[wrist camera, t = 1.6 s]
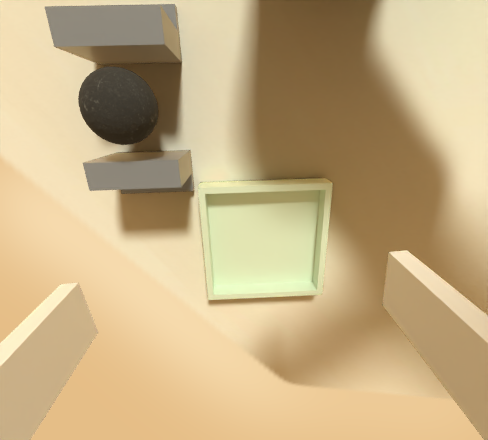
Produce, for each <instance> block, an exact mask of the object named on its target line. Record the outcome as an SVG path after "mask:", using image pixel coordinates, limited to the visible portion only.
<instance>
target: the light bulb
mask: <svg viewBox="0 0 488 440" xmlns="http://www.w3.org/2000/svg"><path fill="white" fill-rule="evenodd" d="M78 99H79V107H80V111H81V114H82V116H83V119H84V120H85V122H86V124H87V125H88V126H89V127H90V129H91V130H92V131H93V132H94V133H96V134H97V135H98V136H99V137H101V138H103V139H105V140H107V141H109V142H112V143H115V144H121V145H127V144H134V143H137V142H140V141H142V140H143V139H145V138H146V137H147V136H148V135H150V133H151V132H152V131H153V129H154V127H155V125H156V123H157V119H158V105H157V101H156V98H155V96H154V93H153V91H152V90H151V88H150V87H149V86H148V84H147V83H146V82H145V81H144V80H143V79H142V78H141V77H140V76H138V75H137V74H135V73H133V72H132V71H129V70H127V69H124V68H119V67H104V68H100V69H98V70H96V71H94V72H92V73H91V74H90V75H89V76H87V77H86V79H85V80H84V82H83V83H82V85H81V88H80V91H79V98H78Z"/></svg>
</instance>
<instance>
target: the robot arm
mask: <svg viewBox="0 0 488 440" xmlns="http://www.w3.org/2000/svg"><path fill="white" fill-rule="evenodd" d="M382 305H383V307H384V308H385V309H386V311H387V312H388V313H389V315H390V316H391V317H392V319H393V320H394V321H395V323H396V324H397V325H398V327H399V328H400V329H401V330H402V332H403V333H404V334H405V336H406V337H407V338H408V340H409V341H410V342H411V344H412V345H413V346H414V348H415V349H416V350H417V352H418V353H419V354H420V356H421V357H422V358H423V360H424V361H425V362H426V364H427V365H428V366H429V368H430V369H431V370H432V371H433V373H434V374H435V375H436V377H437V378H438V379H439V381H440V382H441V383H442V385H443V386H444V387H445V389H446V390H447V391H448V393H449V394H450V395H451V397H452V398H453V399H454V401H455V402H456V403H457V405H458V406H459V407H460V409H461V410H462V411H463V412H464V414H465V415H466V416H467V418H468V419H469V420H470V422H471V423H472V424H473V426H474V427H475V428H476V430H477V431H478V432H479V434H480V435H481V436H482V438H483V439H484V440H488V315H487V314H485V313H484V312H483V311H482V310H480V309H479V308H478V307H477V306H475V305H474V304H473V303H472V302H470V301H469V300H468V299H467V298H466V297H464V296H463V295H462V294H461V293H459V292H458V291H457V290H456V289H454V288H453V287H452V286H451V285H449V284H448V283H447V282H446V281H444V280H443V279H442V278H441V277H440V276H438V275H437V274H436V273H435V272H433V271H432V270H431V269H430V268H428V267H427V266H426V265H425V264H423V263H422V262H421V261H420V260H418V259H417V258H416V257H415V256H414V255H412V254H411V253H410V252H409V251H407V250H405V251H395V252H389V253H388V262H387V270H386V278H385V287H384V295H383V304H382ZM97 334H98V331H97V328H96V326H95V323H94V321H93V318H92V315H91V313H90V310H89V308H88V305H87V303H86V300H85V298H84V295H83V293H82V290H81V288H80V285H79V283H71V284H61V285H60V286H59V287H58V288H57V289H56V290H55V291H54V292H53V293H51V295H50V296H48V298H46V299H45V300H44V301H43V302H42V303H41V304H40V305H39V306H38V307H37V308H36V309H35V310H34V311H33V312H32V313H31V314H30V315H29V316H28V317H27V318H26V319H25V320H24V321H23V322H22V323H21V324H20V325H19V326H18V327H17V328H16V329H15V330H14V331H12V333H10V334H9V335H8V336H7V337H6V338H5V339H4V340H3V341H2V342H1V343H0V440H30V439H31V438H32V436H33V435H34V433H35V432H36V430H37V429H38V427H39V425H40V423H41V422H42V421H43V419H44V417H45V416H46V414H47V413H48V411H49V410H50V408H51V406H52V405H53V403H54V401H55V400H56V398H57V397H58V395H59V394H60V392H61V391H62V389H63V387H64V386H65V384H66V382H67V381H68V379H69V378H70V376H71V375H72V373H73V371H74V370H75V368H76V367H77V365H78V364H79V362H80V360H81V359H82V357H83V356H84V354H85V353H86V351H87V349H88V348H89V346H90V345H91V343H92V341H93V340H94V338H95V337H96V335H97Z"/></svg>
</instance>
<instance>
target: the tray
mask: <svg viewBox="0 0 488 440" xmlns="http://www.w3.org/2000/svg"><path fill="white" fill-rule="evenodd" d="M332 188H333V183H332V182H331V181H329V180H328V179H326V178H306V179H278V180H249V181H221V182H200V184H199V186H198V195H199V206H200V217H201V228H202V239H203V250H204V260H205V271H206V282H207V293H208V300H220V299H242V298H263V297H285V296H307V295H322V292H323V282H324V271H325V261H326V250H327V240H328V230H329V219H330V209H331V198H332Z"/></svg>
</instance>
